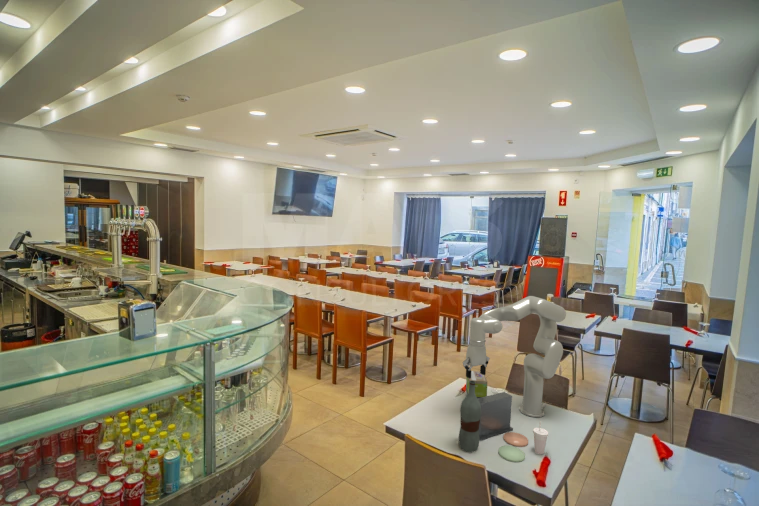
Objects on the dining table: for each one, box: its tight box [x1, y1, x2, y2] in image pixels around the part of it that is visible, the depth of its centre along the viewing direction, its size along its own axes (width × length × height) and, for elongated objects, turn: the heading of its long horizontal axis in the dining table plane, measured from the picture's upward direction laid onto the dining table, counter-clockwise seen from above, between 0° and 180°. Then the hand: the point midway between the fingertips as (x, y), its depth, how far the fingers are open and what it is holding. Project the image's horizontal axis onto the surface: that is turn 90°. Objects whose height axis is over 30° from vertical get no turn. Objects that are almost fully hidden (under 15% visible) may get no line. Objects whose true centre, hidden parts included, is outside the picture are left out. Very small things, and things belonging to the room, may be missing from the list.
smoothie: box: [532, 421, 549, 455], centre depth 176 cm, size 6×6×14 cm
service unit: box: [477, 391, 514, 442], centre depth 192 cm, size 22×7×17 cm, turn 120°
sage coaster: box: [498, 445, 526, 463], centre depth 174 cm, size 11×11×1 cm
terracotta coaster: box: [502, 431, 529, 448], centre depth 186 cm, size 11×11×1 cm
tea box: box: [465, 370, 488, 398], centre depth 227 cm, size 15×10×15 cm, turn 174°
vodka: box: [458, 381, 481, 453], centre depth 177 cm, size 9×9×30 cm
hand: (475, 375), depth 202 cm, fingers open, 9 cm apart
